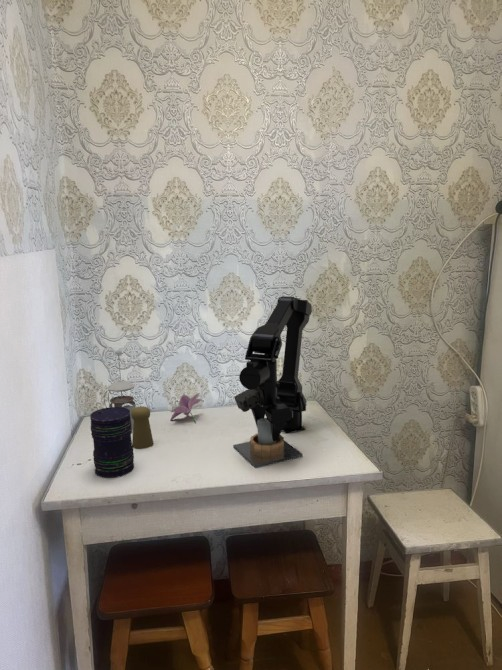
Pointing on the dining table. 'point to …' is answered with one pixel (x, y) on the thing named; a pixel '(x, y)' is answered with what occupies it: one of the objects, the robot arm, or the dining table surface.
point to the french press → (121, 400)
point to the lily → (185, 406)
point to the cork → (141, 428)
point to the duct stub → (264, 432)
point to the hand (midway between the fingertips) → (266, 434)
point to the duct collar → (266, 452)
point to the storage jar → (112, 442)
